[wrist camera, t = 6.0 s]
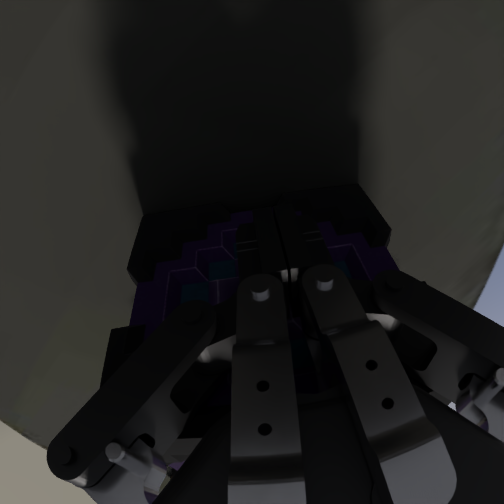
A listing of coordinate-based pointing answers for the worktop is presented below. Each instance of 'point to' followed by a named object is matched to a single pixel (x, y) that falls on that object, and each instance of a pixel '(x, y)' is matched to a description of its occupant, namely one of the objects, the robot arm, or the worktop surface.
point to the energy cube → (227, 280)
